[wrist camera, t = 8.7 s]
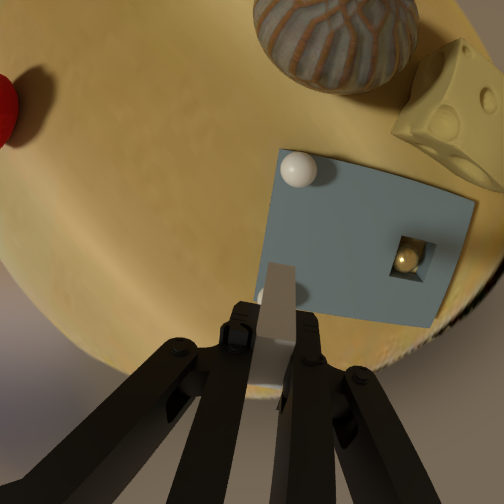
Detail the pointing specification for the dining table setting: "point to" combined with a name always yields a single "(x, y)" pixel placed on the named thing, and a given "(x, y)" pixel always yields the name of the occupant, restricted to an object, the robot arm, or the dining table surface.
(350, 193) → the plate
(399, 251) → the ball
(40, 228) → the dining table surface
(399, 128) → the cheese
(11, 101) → the tomato
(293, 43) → the vase
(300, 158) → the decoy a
